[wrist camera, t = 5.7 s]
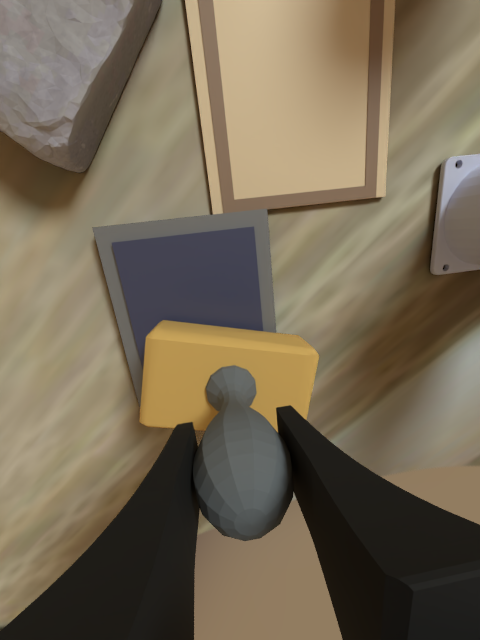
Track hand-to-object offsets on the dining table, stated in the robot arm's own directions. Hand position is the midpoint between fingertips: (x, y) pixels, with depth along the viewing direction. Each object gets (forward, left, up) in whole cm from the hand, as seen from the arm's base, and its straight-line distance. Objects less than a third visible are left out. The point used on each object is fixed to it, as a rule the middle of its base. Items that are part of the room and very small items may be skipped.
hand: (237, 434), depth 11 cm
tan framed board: (-6, -16, -10) cm, 20 cm away
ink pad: (+2, -2, -10) cm, 11 cm away
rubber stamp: (0, +1, -8) cm, 8 cm away
